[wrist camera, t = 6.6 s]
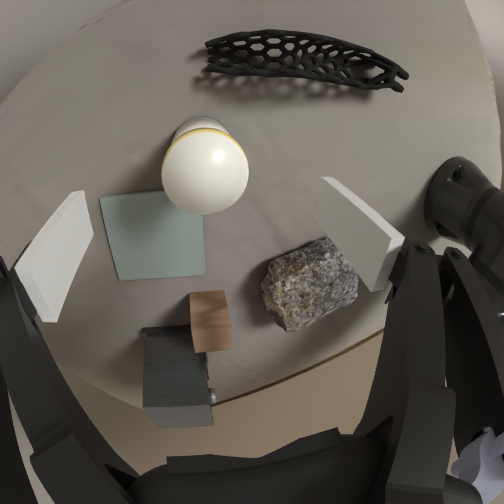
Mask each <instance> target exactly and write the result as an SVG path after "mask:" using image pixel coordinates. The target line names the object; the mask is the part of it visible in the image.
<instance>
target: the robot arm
mask: <svg viewBox="0 0 504 504" xmlns="http://www.w3.org/2000/svg"><path fill="white" fill-rule="evenodd" d="M425 219H426V223H427V225H428V227H429V228H430V229H431V230H432V231H434V232H435V233H436V234H437V235H438V236H440V237H442V238H445V239H448V240H451V241H453V242H456V243H459V244H461V245H464V246H465V247H467V248H468V249H469V250H470V251H471V252H472V254H471V255H470V256H469V258H468V259H467V257H466V256H465V255H464V254H463V253H462V252H461V250H458V249H457V248H453V247H446V249H445V251H444V254H443V256H442V255H436V254H435V252H434V250H433V249H432V248H431V247H430V246H428V245H427V244H425V243H422V242H419V241H412V242H410V241H409V240H408V239H407V238H406V237H405V236H404V235H403V234H402V233H401V232H400V231H398V230H396V228H395V227H394V226H393V225H391V223H389V222H388V221H387V220H386V219H385V218H383V217H381V216H380V215H379V214H378V213H377V212H376V211H374V210H373V209H372V208H371V207H370V206H368V205H367V204H366V203H365V202H364V201H362V200H361V199H360V198H359V197H357V196H356V195H355V194H354V193H352V192H351V191H350V190H349V189H347V188H346V187H345V186H344V185H342V184H341V183H340V182H338V181H337V180H336V179H334V178H333V177H321V181H320V188H319V194H318V200H317V205H316V211H315V217H314V220H315V221H316V222H317V224H318V225H319V226H320V227H321V228H322V230H323V231H324V232H325V233H326V235H327V236H328V237H329V238H330V239H331V241H332V242H333V243H334V244H335V246H336V247H337V248H338V250H339V251H340V252H341V253H342V255H343V256H344V257H345V258H346V260H347V261H348V262H349V264H350V265H351V266H352V268H353V269H354V270H355V271H356V273H357V274H358V275H359V277H360V278H361V279H362V281H363V282H364V283H365V285H366V286H367V288H368V289H369V290H370V292H375V291H380V290H384V288H385V286H386V284H387V282H388V279H389V280H390V281H391V282H392V283H393V286H392V288H391V290H390V292H389V294H388V296H387V299H386V301H385V304H387V302H388V301H389V303H388V310H387V316H386V322H385V328H384V334H383V339H382V344H381V349H380V354H379V358H378V363H377V367H376V371H375V375H374V380H373V383H372V387H371V391H370V394H369V398H368V401H367V405H366V408H365V412H364V414H363V417H362V419H361V421H360V423H359V424H358V426H357V428H356V429H355V431H354V433H353V435H351V434H350V435H349V434H340V432H339V430H338V428H337V427H336V428H333V429H330V430H327V431H323V432H320V433H317V434H314V435H310V436H306V437H303V438H299V439H297V440H295V441H294V442H292V443H290V444H288V445H286V446H284V447H282V448H280V449H278V450H275V451H274V452H271V453H269V454H267V455H265V456H263V457H259V458H241V457H229V456H220V455H212V454H207V455H195V456H171V457H166V458H167V464H165V465H161V466H159V467H156V468H154V469H151V470H150V471H148V472H146V473H144V474H143V475H141V476H140V475H139V474H138V473H137V472H136V471H135V470H134V469H133V468H132V467H131V466H129V465H128V464H127V463H126V462H125V461H124V460H123V459H122V458H121V457H120V456H119V455H118V454H116V452H115V451H114V450H113V449H112V447H111V446H110V445H109V444H108V443H107V441H106V440H105V439H104V437H102V435H101V434H100V432H99V431H98V430H97V428H96V427H95V426H94V424H93V423H92V421H91V420H90V419H89V417H88V416H87V414H86V413H85V411H84V410H83V408H82V407H81V406H80V404H79V402H78V401H77V399H76V398H75V396H74V394H73V393H72V391H71V389H70V388H69V386H68V385H67V383H66V381H65V379H64V378H63V376H62V374H61V372H60V370H59V368H58V367H57V365H56V363H55V361H54V359H53V357H52V355H51V353H50V351H49V349H48V347H47V345H46V343H45V340H44V338H43V336H42V334H41V331H40V329H39V327H38V325H37V323H36V321H35V320H34V317H35V315H36V312H37V313H38V315H39V316H40V318H41V320H42V321H43V322H57V321H58V318H59V315H60V312H61V309H62V306H63V304H64V301H65V298H66V296H67V293H68V291H69V288H70V286H71V283H72V281H73V278H74V276H75V274H76V271H77V269H78V267H79V264H80V262H81V260H82V258H83V256H84V254H85V251H86V249H87V247H88V245H89V243H90V241H91V239H92V237H93V235H94V234H93V230H92V226H91V222H90V218H89V214H88V209H87V205H86V200H85V195H84V190H83V191H76V192H72V193H71V194H70V195H69V196H68V197H67V198H66V199H65V200H64V202H63V203H62V204H61V205H60V206H59V207H58V209H57V210H56V211H55V212H54V213H53V215H52V216H51V217H50V218H49V220H48V221H47V222H46V223H45V225H44V226H43V227H42V229H41V230H40V231H39V233H38V234H37V235H36V237H35V238H34V239H33V240H32V241H31V242H30V243H29V244H28V245H27V246H26V247H25V249H24V250H23V251H22V253H21V254H20V256H19V259H17V260H16V262H15V263H14V265H13V266H12V268H11V270H10V271H8V269H7V267H6V265H5V263H4V260H3V258H2V257H1V256H0V504H38V502H37V499H36V497H35V494H34V491H33V489H32V486H31V484H30V481H29V479H28V475H27V473H26V470H25V467H24V464H23V460H22V457H21V453H20V451H19V446H18V442H17V439H16V435H15V430H14V425H13V420H12V415H11V410H10V403H9V397H8V391H9V394H10V396H11V399H12V402H13V405H14V407H15V410H16V412H17V414H18V417H19V419H20V422H21V424H22V426H23V428H24V430H25V433H26V435H27V437H28V439H29V441H30V443H31V445H32V447H33V450H34V453H33V454H32V455H31V456H30V462H31V465H32V467H33V469H34V471H35V473H36V474H37V476H38V478H39V480H40V481H41V483H42V485H43V486H44V488H45V489H46V491H47V492H48V494H49V495H50V497H51V498H52V500H53V501H54V503H55V504H489V503H490V502H491V501H492V500H493V499H494V498H495V497H496V496H497V495H498V494H499V493H500V492H501V491H502V490H503V489H504V192H502V191H501V190H499V189H498V188H496V187H495V186H494V185H493V184H492V183H491V182H490V181H489V180H488V178H487V177H486V176H485V175H484V174H483V173H482V171H481V170H480V169H479V168H478V167H477V166H476V165H475V164H474V163H473V162H471V161H469V160H467V159H465V158H463V157H453V158H451V159H449V160H448V161H447V162H445V163H444V164H443V165H442V166H441V167H440V169H439V170H438V171H437V173H436V175H435V176H434V178H433V180H432V182H431V184H430V187H429V190H428V193H427V197H426V202H425ZM445 377H446V382H447V387H445ZM7 388H8V389H7ZM453 436H454V441H455V446H456V451H457V454H458V458H459V459H458V460H456V461H455V462H454V463H453V464H452V466H451V473H452V475H453V476H456V477H457V476H459V477H458V478H455V477H453V476H450V475H448V474H446V473H447V467H448V463H449V457H450V452H451V445H452V439H453Z"/></svg>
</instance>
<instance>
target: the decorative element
mask: <svg viewBox="0 0 504 504" xmlns="http://www.w3.org/2000/svg"><path fill="white" fill-rule="evenodd" d="M254 36H261V38H256V39H252V38H249V37H254ZM285 36H295V38H287V37H285ZM269 38H278V39H280V40H282V41H280V42H279V43H278V44H270V43H269V42H267V41H266V40H268V39H269ZM302 40H309V41H308V42H307V43H305V44H303V45H301V44H300V43H299V42H300V41H302ZM225 41H227V42H225ZM237 41H245V42H247V43H246V44H245V45H238V46H236V45H234V44H233V43H234V42H237ZM221 42H223V43H221ZM258 43H261V44H262V45H264V46H265V47H264V48H263V49H262V50H255V51H254V50H253V49H252V48H250V46H251V45H252V44H258ZM287 43H293V44H294V46H295V47H294V48H293V49H292V51H291V50H287V49H286V48H285V47H284V46H285V45H286V44H287ZM330 44H331V45H333V46H331V47H329V48H327V49H323V48H322V46H325V45H330ZM205 45H206V48H209V47H212V49H208V54H213V55H215V56H214V57H210V58H209V62H212V63H214V64H208V65H207V67H206V69H205V72H215V73H225V74H230V75H237V76H249V75H254V76H263V77H296V78H306V79H312V80H318V81H323V82H329V83H336V84H340V85H346V86H351V87H356V88H362V89H374V90H379V89H381V88H391V89H393V90H394V91H396V92H401V93H402V92H403V90H404V88H403V86H402V85H400V84H399V83H398V82H396V81H395V80H394V79H395V76H396V75H397V76H398V77H399V78H401V79H404V80H407V79H408V78H409V74H408V73H407V72H406V71H405V70H404V69H402V68H401V67H400V66H399V65H398V64H396V63H394V62H393V61H391V60H389V59H387V58H385V57H383V56H381V55H379V54H377V53H375V52H374V51H373V50H371V49H368V48H365V47H362V46H359V45H356V44H352V43H349V42H346V41H343V40H339V39H336V38H332V37H329V36H324V35H319V34H313V33H306V32H297V31H285V30H274V29H266V30H260V31H252V32H238V33H233V34H229V35H226V36H223V37H219V38H216V39H213V40H210V41H207V42H205ZM312 45H314V46H316V49H315V50H314V51H313V52H312V53H309V52H308V49H307V48H309V47H311V46H312ZM340 46H342V47H340ZM224 47H228V48H230V49H231V50H230V51H228V52H222V53H221V52H219V51H217V50H218V49H220V48H224ZM270 49H279V50H280V51H281V52H282V54H281V55H280V56H279V57H270V56H269V55H268V54H267V52H268V51H269V50H270ZM300 49H301V50H302V56H301V58H299V57H298V55H297V53H298V51H299V50H300ZM238 50H245V51H247V52H248V53H249V54H248V55H247V56H246V57H237V56H236V55H235V54H234V53H235V52H236V51H238ZM335 50H336V51H338V54H337V55H335V56H334V57H333V58H332V57H330V56H329V53H331V52H333V51H335ZM352 50H353V51H354V52H351V53H348V54H343V53H344V52H345V51H352ZM319 53H322V54H324V59H323V61H322V62H319V61H318V60H317V58H316V56H317V55H318V54H319ZM360 53H367V54H370V55H371V57H368V56H365V55H362V54H360ZM253 56H262V57H263V58H264V59H265V60H264V61H263V62H262V63H254V62H252V61H251V60H250V59H251V58H252V57H253ZM287 56H292V58H293V60H294V61H293V63H292V64H287V63H286V62H285V61H284V59H285V58H286V57H287ZM354 56H356V57H359V58H361V59H363V60H357V61H352V62H349V58H352V57H354ZM221 57H229V58H231V59H232V60H230V61H229V62H220V61H219V59H220V58H221ZM307 58H311V60H312V62H313V66H309V65H308V63H307V62H306V59H307ZM340 58H344V64H343V66H339V65H338V63H337V61H338V60H339V59H340ZM237 62H245V63H247V64H248V65H247V66H245V67H240V66H235V65H234V64H236V63H237ZM270 62H278V63H280V64H281V65H282V66H281V67H279V68H269V67H268V66H267V65H268V64H269V63H270ZM328 62H332V64H333V66H334V71H333V70H331V69H330V68H329V67H328V66H327V64H328ZM382 62H383V63H382ZM299 63H301V64H302V66H303V67H304V70H302V69H300V68H299V67H298V64H299ZM364 63H367V64H370V65H374V66H377V67H379V68H381V69H383V70H385V71H384V73H381V74H379V75H377V76H376V77H374V78H372V79H363V78H360V77H358V76H355V75H352V74H350V73H349V71H348V70H347V68H348V66H354V65H359V64H364ZM224 67H228V68H224ZM318 67H322V68H323V69H324V70H325V71H326V72H327V74H324V73H323V72H321V71H320V70H319V69H318ZM253 68H261V69H263V70H251V69H253ZM287 69H293V70H287ZM310 71H311V72H310ZM339 71H342V72H343V73H344V74H345V75H346V76H347V77H348V78H345V77H344V76H343V75H341V74H340V73H339ZM312 72H314V73H316V74H314V73H312ZM381 81H384V83H382V84H381Z"/></svg>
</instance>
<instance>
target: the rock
mask: <svg viewBox="0 0 504 504" xmlns="http://www.w3.org/2000/svg"><path fill="white" fill-rule="evenodd" d="M358 277H359V275H358V274H357V273H356V271H355V270H354V269H353V268H352V266H351V265H350V264H349V262H348V261H347V260H346V258H345V257H344V256H343V255H342V253H341V252H340V251H339V250H338V248H337V247H336V246H335V244H334V243H333V242H332V241H331V239H330V238H328V239H326V240H316V241H315V242H313V243H311V244H310V245H309V246H308V247H304V248H303V249H298V250H296V251H294V252H291V253H289V254H287V255H285V256H282V257H278V258H275V259H273V260H272V261H271V262H270V265H269V266H268V272H267V275H266V277H265V278H264V279H263V281H262V283H261V295H262V296H263V300H264V304H265V307H266V311H267V312H268V313H269V315H270V316H271V317H272V319H273V320H274V322H275V323H276V324H277V325H278V326H280V327H282V328H283V329H284V330H285V331H286V332H295V331H298V330H299V329H301V328H306V327H309V326H311V325H312V323H313V322H315V321H316V320H318V319H319V318H321V317H323V316H325V315H327V314H330V313H331V312H332V311H334V310H335V309H337V308H339V307H345V306H347V305H349V304H351V303H353V302H354V300H355V299H356V298H357V295H358V293H357V289H358V286H357V285H358Z"/></svg>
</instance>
